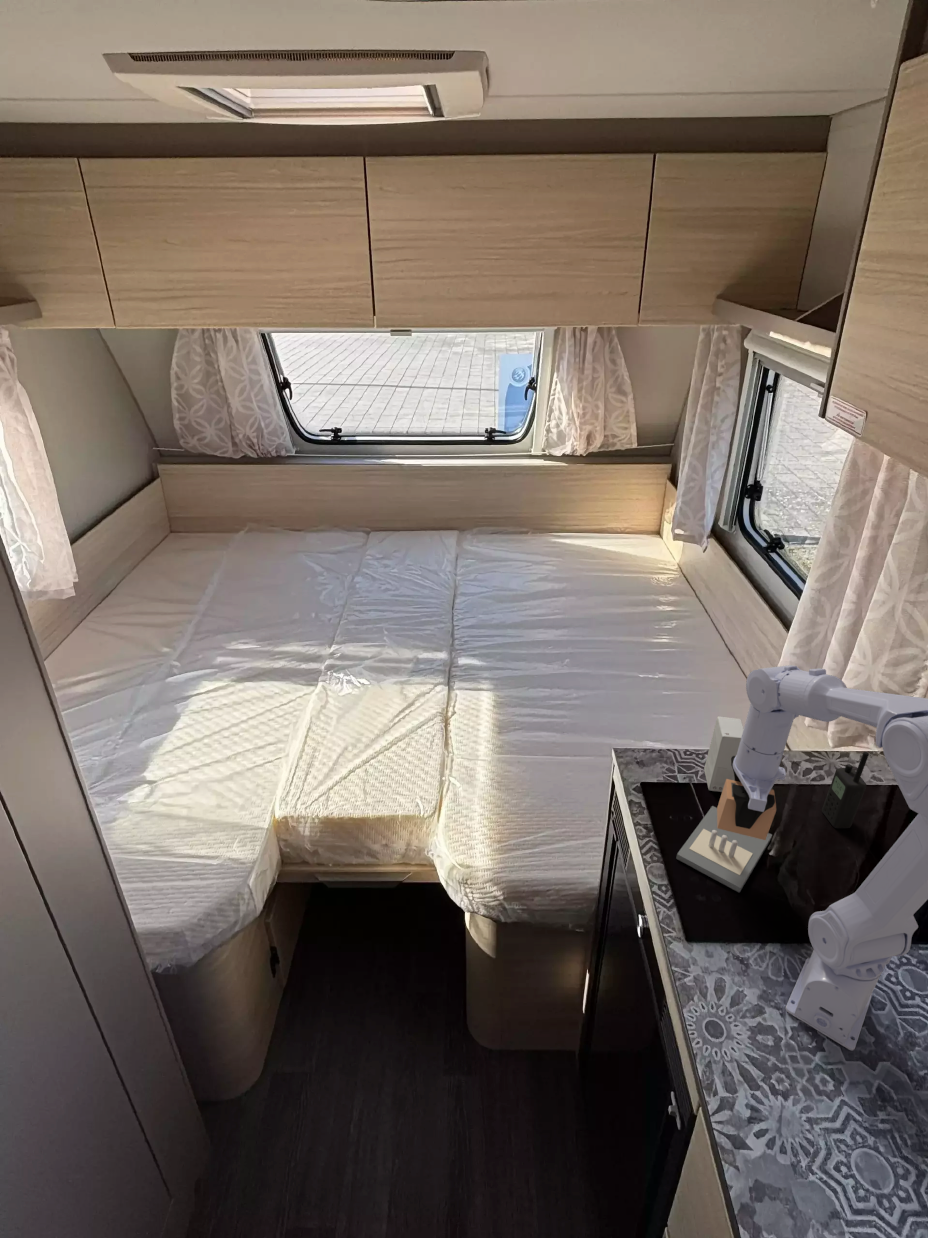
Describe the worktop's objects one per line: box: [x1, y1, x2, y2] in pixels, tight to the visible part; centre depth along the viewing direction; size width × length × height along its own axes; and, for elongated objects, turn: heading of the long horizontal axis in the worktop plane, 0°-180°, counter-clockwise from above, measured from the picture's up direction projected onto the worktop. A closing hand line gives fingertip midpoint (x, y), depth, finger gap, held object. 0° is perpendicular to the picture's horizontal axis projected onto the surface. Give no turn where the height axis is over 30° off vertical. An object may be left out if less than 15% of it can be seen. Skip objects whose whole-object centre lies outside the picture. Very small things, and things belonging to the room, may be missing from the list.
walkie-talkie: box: [821, 751, 870, 829], centre depth 114 cm, size 5×3×15 cm
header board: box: [675, 805, 773, 893], centre depth 110 cm, size 14×10×4 cm
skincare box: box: [703, 715, 744, 793], centre depth 123 cm, size 6×4×12 cm
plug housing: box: [716, 779, 777, 840], centre depth 104 cm, size 4×7×6 cm, turn 73°
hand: (742, 814), depth 105 cm, fingers closed on plug housing, 4 cm apart
